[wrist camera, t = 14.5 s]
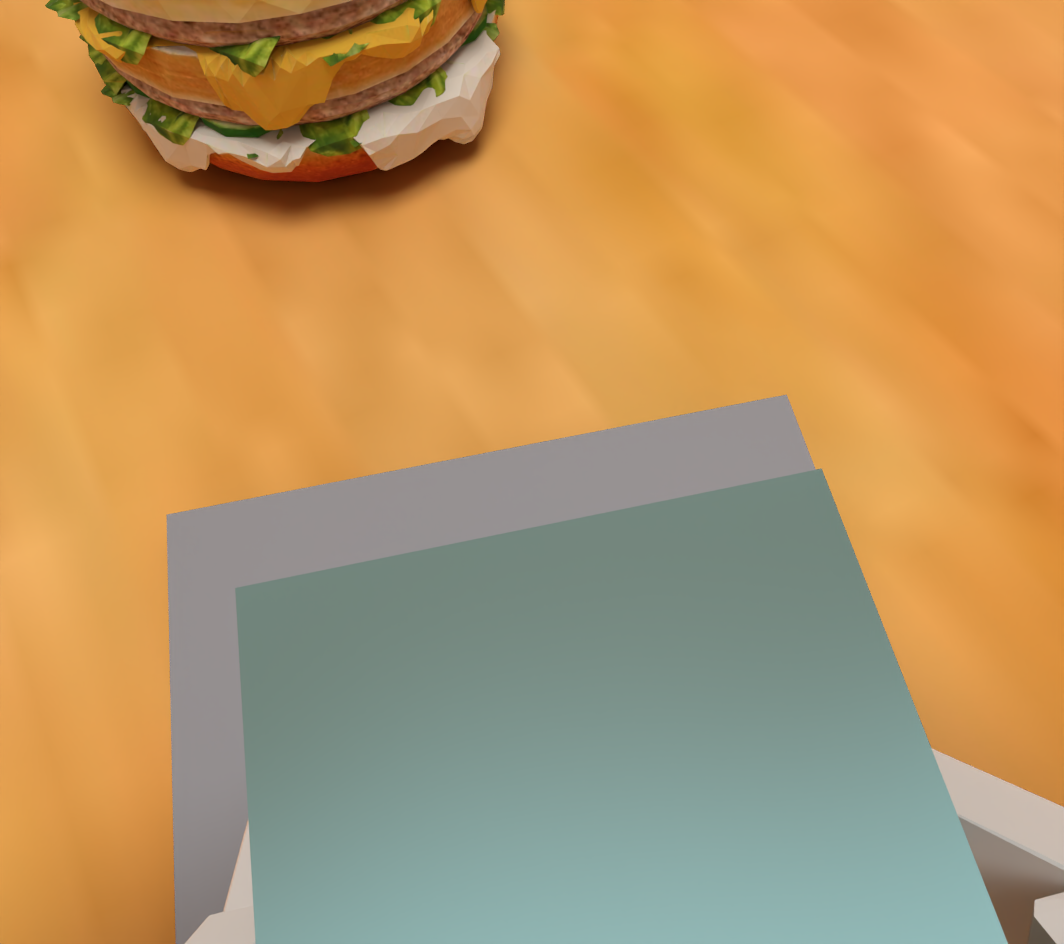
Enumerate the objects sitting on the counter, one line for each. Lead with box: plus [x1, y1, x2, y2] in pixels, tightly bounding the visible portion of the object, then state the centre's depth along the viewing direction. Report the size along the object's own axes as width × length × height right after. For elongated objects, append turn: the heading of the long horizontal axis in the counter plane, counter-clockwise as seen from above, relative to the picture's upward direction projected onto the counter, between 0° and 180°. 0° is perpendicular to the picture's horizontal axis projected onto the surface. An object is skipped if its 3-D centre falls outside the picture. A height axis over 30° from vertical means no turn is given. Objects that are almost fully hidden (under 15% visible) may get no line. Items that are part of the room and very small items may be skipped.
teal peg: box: [235, 469, 1008, 944], centre depth 9 cm, size 4×4×11 cm
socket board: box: [167, 395, 816, 944], centre depth 15 cm, size 16×16×4 cm
